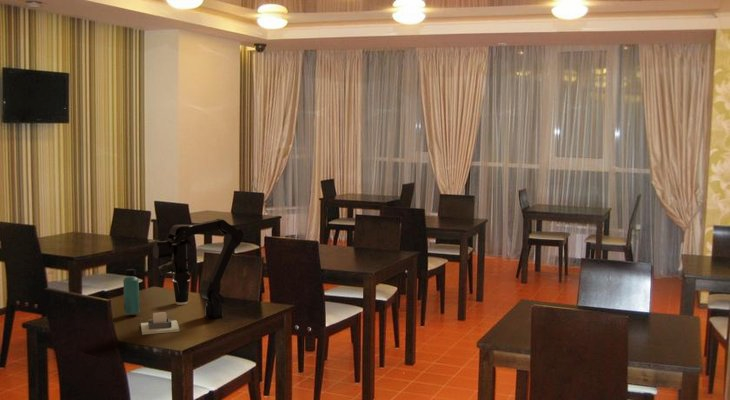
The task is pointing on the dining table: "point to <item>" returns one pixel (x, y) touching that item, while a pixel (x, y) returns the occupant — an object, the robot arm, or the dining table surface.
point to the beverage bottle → (131, 293)
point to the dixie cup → (182, 297)
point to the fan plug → (159, 317)
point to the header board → (159, 327)
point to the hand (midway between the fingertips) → (180, 293)
